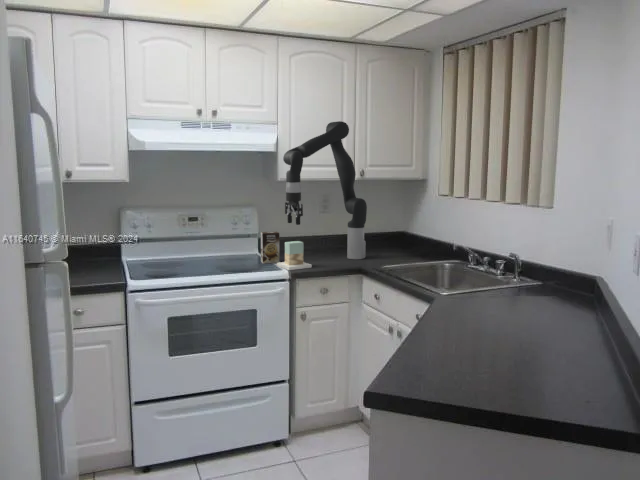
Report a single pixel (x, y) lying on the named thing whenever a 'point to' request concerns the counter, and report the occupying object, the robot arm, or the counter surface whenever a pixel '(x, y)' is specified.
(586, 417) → the counter surface
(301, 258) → the maple brick
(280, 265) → the baseplate
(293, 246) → the sage brick
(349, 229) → the robot arm
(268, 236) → the cookie box
